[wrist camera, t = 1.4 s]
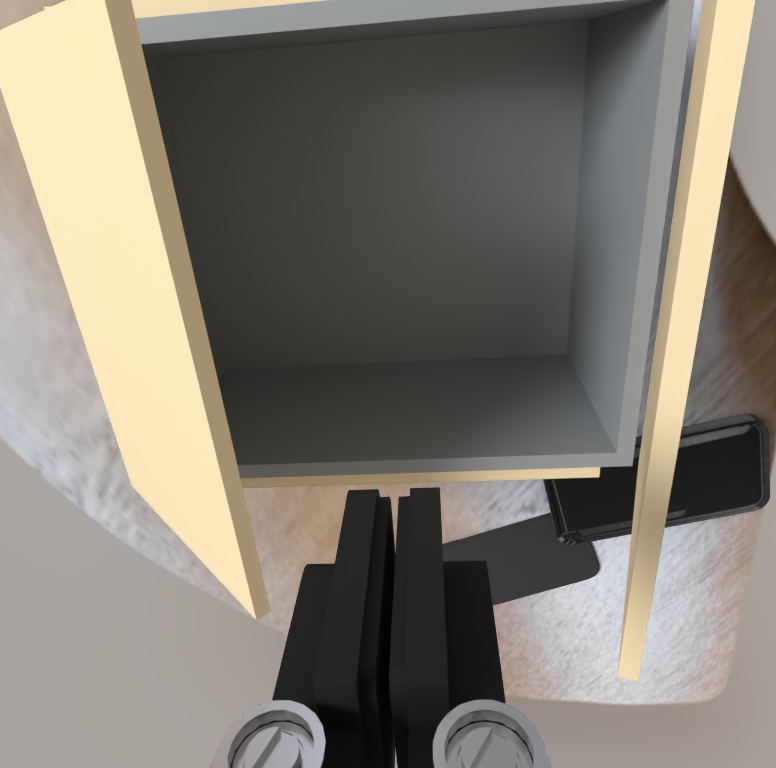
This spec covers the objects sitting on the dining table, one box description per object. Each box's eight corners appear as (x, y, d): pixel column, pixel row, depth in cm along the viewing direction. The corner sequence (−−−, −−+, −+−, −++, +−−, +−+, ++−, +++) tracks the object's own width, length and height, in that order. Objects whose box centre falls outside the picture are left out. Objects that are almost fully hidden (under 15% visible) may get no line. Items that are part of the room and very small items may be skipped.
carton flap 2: (732, -102, 10) (774, -110, 10) (706, -29, 20) (727, -32, 20) (617, 675, 19) (638, 681, 19) (638, 464, 29) (652, 467, 29)
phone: (603, 576, 48) (427, 624, 51) (600, 568, 49) (427, 616, 52) (577, 506, 45) (392, 562, 48) (574, 499, 46) (392, 555, 49)
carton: (141, 30, 32) (3, 10, 22) (603, -13, 30) (701, -57, 20) (221, 383, 42) (153, 490, 31) (575, 368, 40) (631, 476, 29)
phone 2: (540, 465, 43) (768, 417, 40) (537, 456, 44) (759, 409, 41) (559, 548, 46) (770, 509, 43) (556, 538, 47) (762, 499, 44)
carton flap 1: (2, 37, 22) (-17, 37, 21) (127, -15, 14) (101, -16, 13) (143, 480, 31) (132, 486, 30) (270, 610, 23) (256, 620, 22)
